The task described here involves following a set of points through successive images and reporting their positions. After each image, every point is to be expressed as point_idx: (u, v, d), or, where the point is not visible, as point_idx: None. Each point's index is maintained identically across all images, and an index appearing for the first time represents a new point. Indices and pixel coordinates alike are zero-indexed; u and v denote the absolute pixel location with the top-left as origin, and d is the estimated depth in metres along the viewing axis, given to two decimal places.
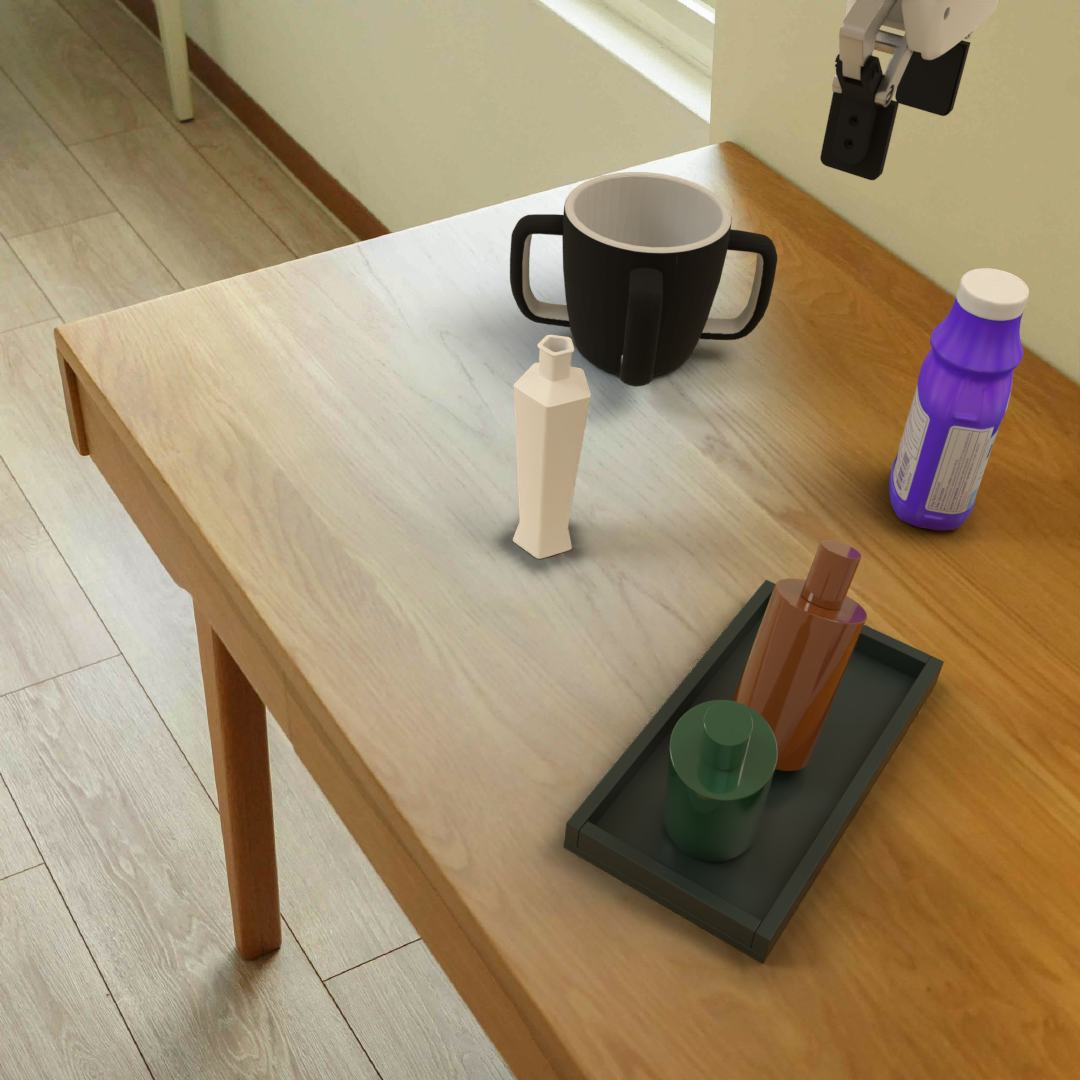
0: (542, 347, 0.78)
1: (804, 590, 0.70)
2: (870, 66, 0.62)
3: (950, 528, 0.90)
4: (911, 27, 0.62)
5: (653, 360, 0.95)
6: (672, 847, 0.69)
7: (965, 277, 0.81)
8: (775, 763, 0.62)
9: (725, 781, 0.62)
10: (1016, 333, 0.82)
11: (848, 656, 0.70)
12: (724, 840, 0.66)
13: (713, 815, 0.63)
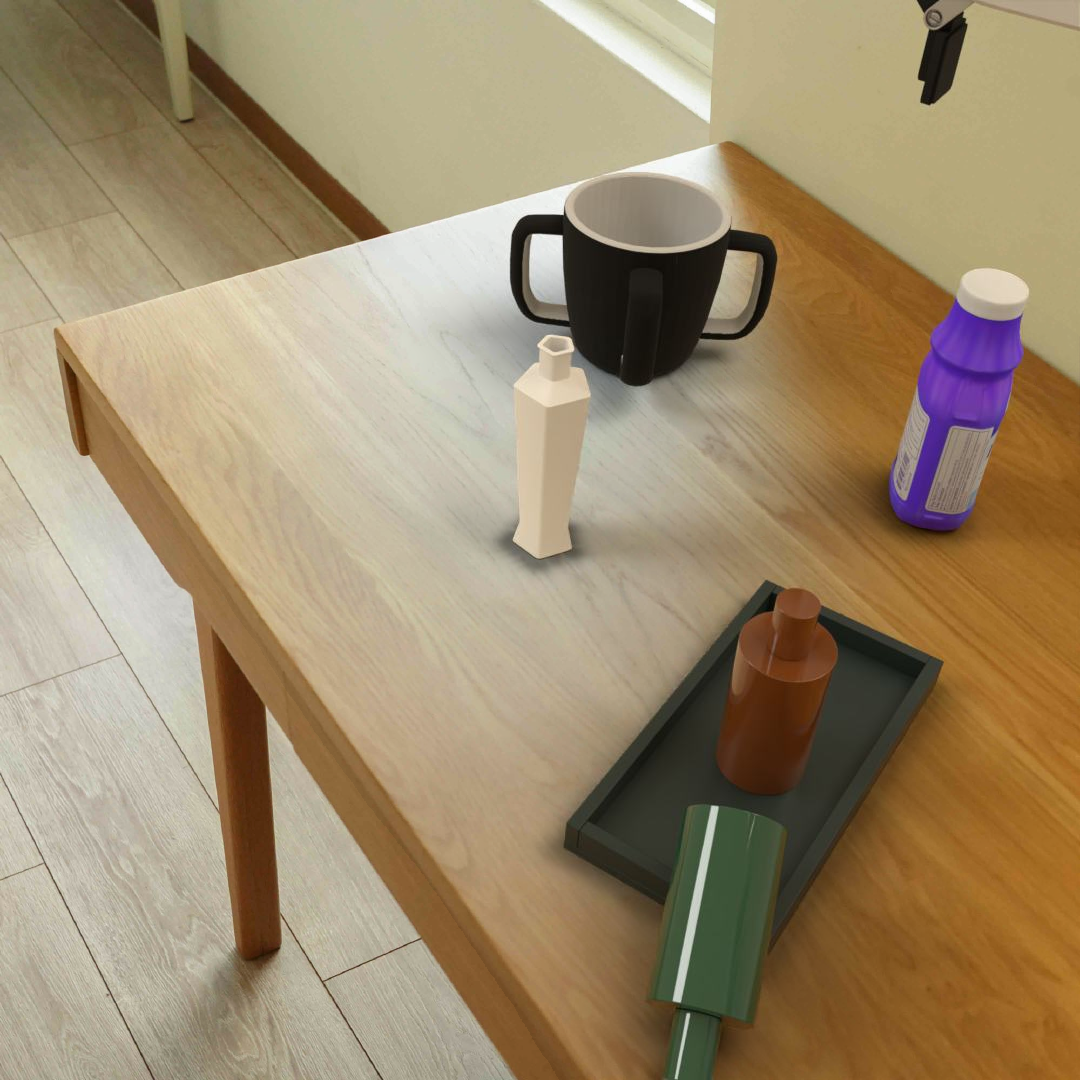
0: (542, 347, 0.78)
1: (768, 641, 0.68)
2: None
3: (950, 528, 0.90)
4: None
5: (653, 360, 0.95)
6: (672, 847, 0.69)
7: (965, 277, 0.81)
8: None
9: None
10: (1016, 333, 0.82)
11: (821, 698, 0.68)
12: None
13: None
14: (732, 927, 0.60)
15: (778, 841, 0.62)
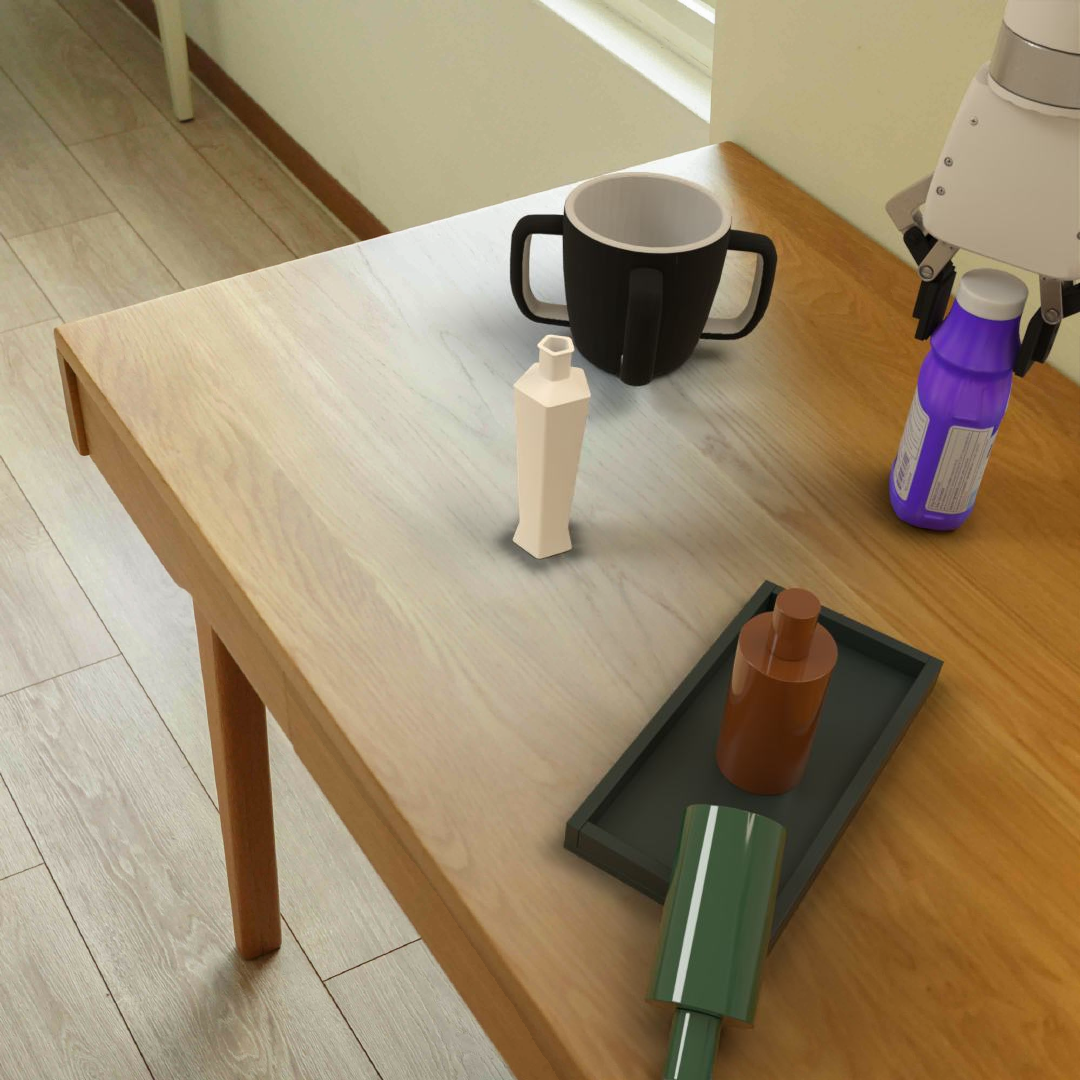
0: (542, 347, 0.78)
1: (768, 641, 0.68)
2: None
3: (950, 528, 0.90)
4: None
5: (653, 360, 0.95)
6: (672, 847, 0.69)
7: (965, 277, 0.81)
8: None
9: None
10: (1016, 333, 0.82)
11: (821, 698, 0.68)
12: None
13: None
14: (731, 926, 0.60)
15: (777, 840, 0.62)
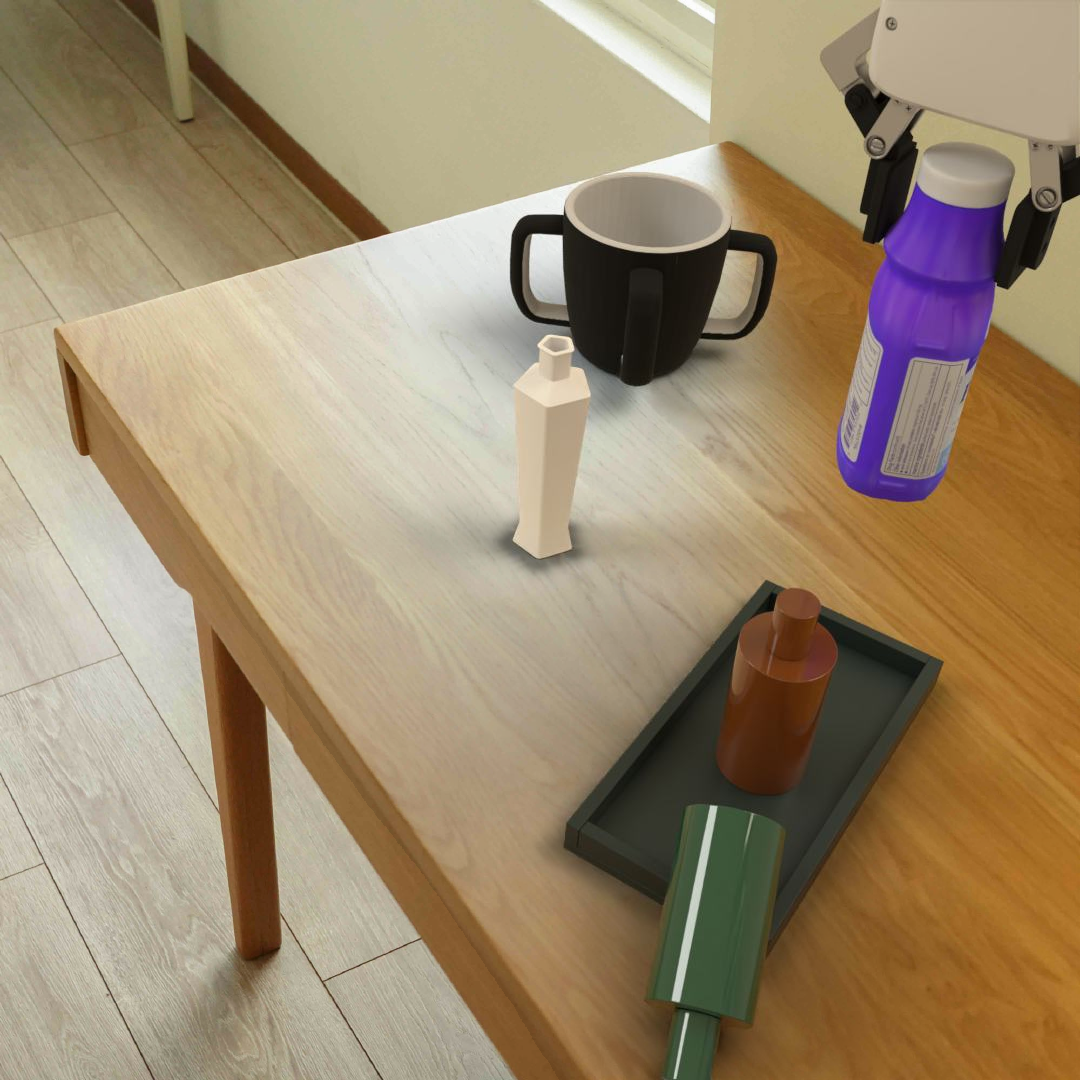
0: (542, 347, 0.78)
1: (768, 641, 0.68)
2: None
3: (915, 499, 0.68)
4: None
5: (653, 360, 0.95)
6: (672, 847, 0.69)
7: (928, 152, 0.60)
8: (745, 1028, 0.61)
9: None
10: (998, 228, 0.60)
11: (821, 698, 0.68)
12: None
13: None
14: (729, 926, 0.60)
15: (776, 840, 0.62)
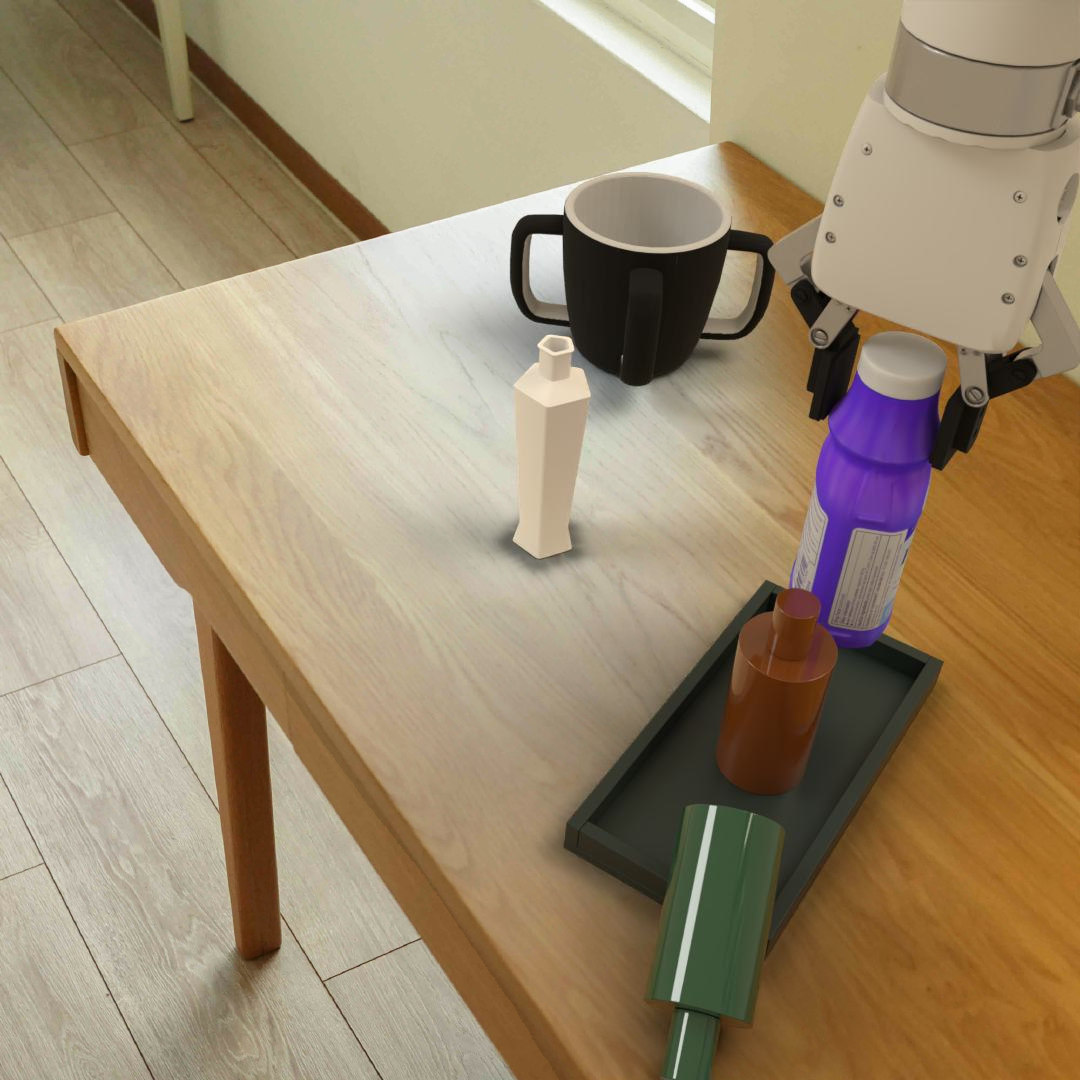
0: (542, 347, 0.78)
1: (768, 641, 0.68)
2: None
3: (861, 646, 0.73)
4: None
5: (653, 360, 0.95)
6: (672, 847, 0.69)
7: (868, 343, 0.64)
8: (745, 1028, 0.61)
9: None
10: (933, 414, 0.65)
11: (821, 698, 0.68)
12: None
13: None
14: (728, 925, 0.60)
15: (775, 840, 0.62)
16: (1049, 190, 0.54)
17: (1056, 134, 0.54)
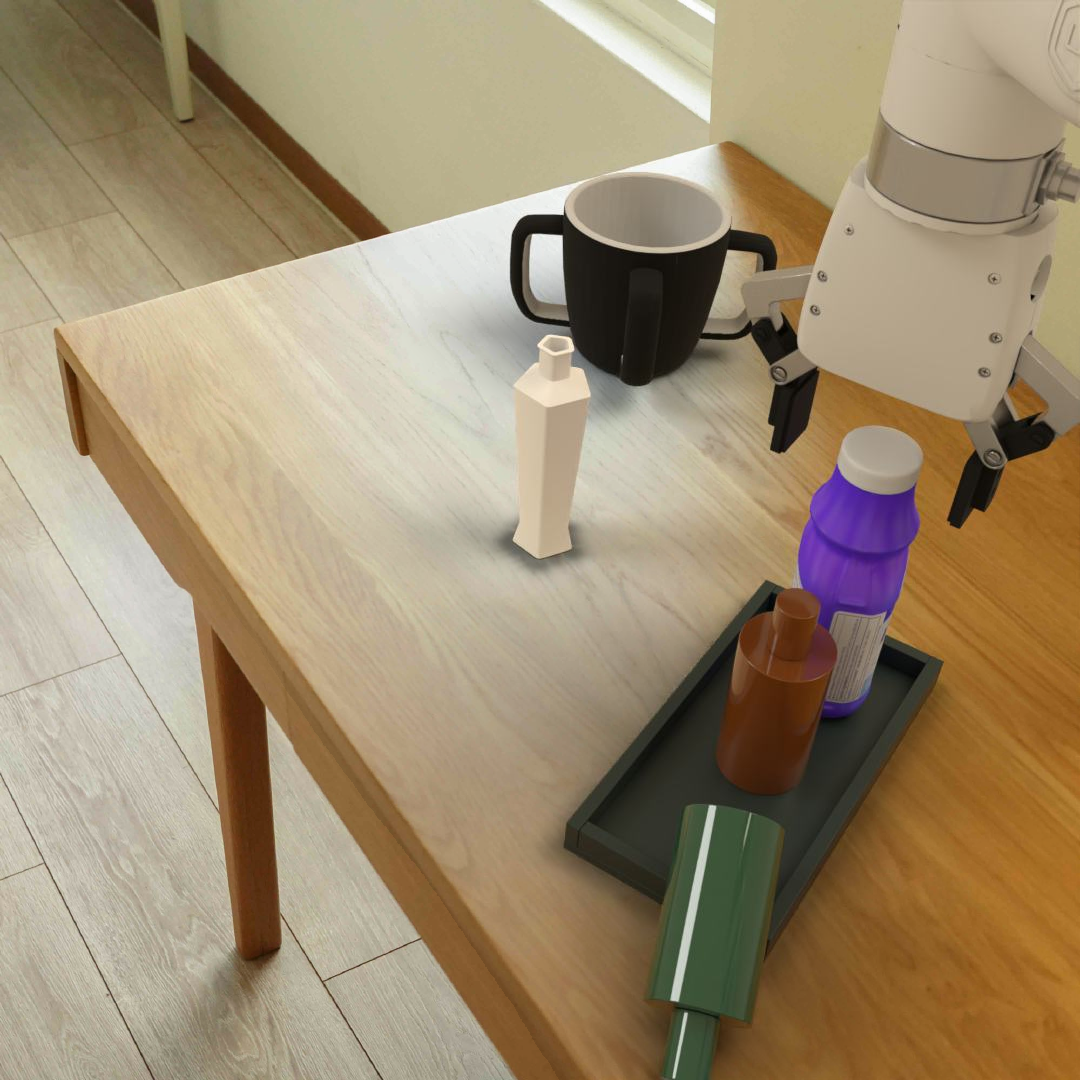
0: (542, 347, 0.78)
1: (768, 641, 0.68)
2: None
3: (842, 716, 0.76)
4: None
5: (653, 360, 0.95)
6: (672, 847, 0.69)
7: (847, 439, 0.67)
8: (744, 1028, 0.61)
9: None
10: (909, 505, 0.68)
11: (821, 698, 0.68)
12: None
13: None
14: (727, 925, 0.60)
15: (775, 839, 0.62)
16: (1023, 272, 0.57)
17: (1029, 219, 0.56)
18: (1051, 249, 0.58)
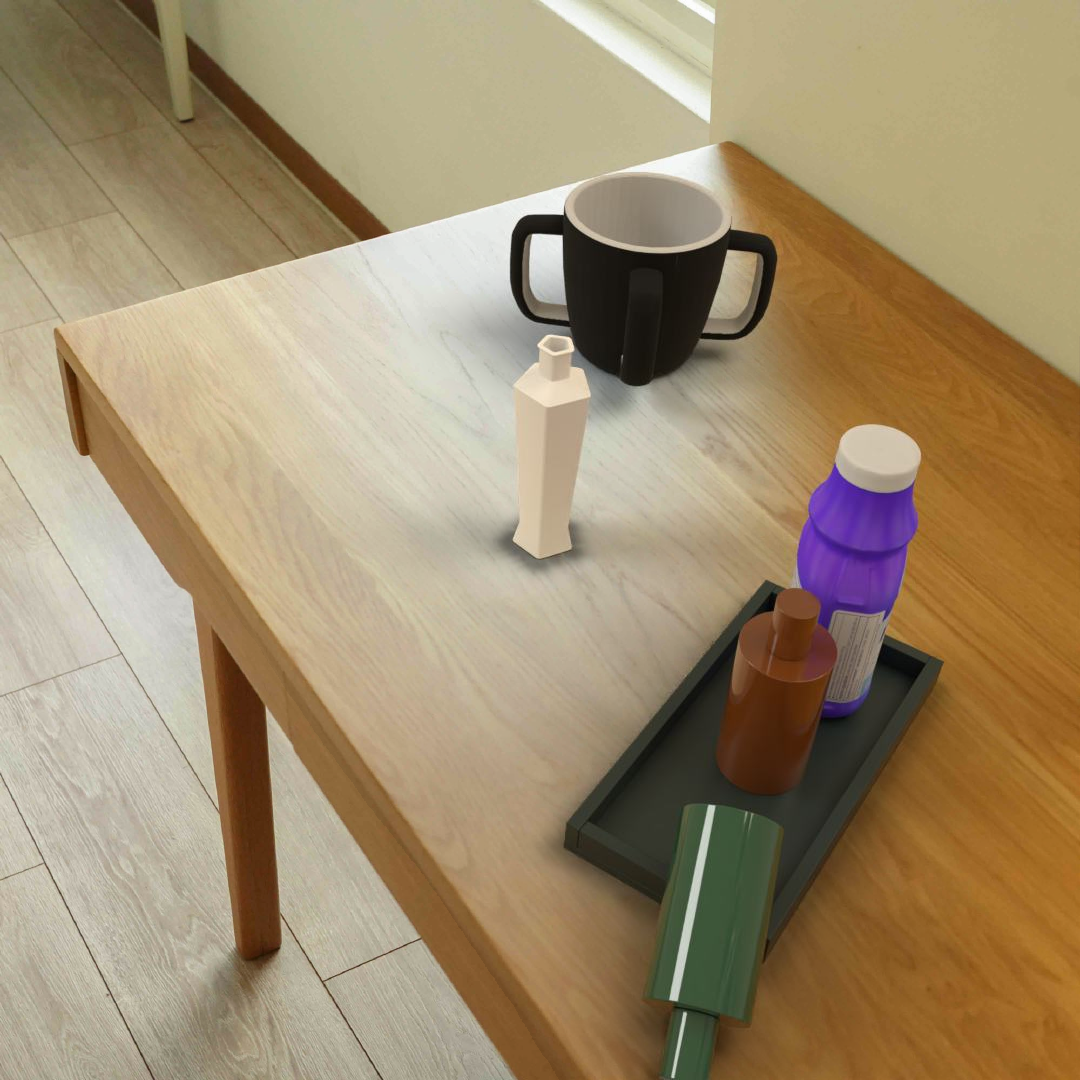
0: (542, 347, 0.78)
1: (768, 641, 0.68)
2: None
3: (842, 716, 0.76)
4: None
5: (653, 360, 0.95)
6: (672, 847, 0.69)
7: (845, 438, 0.68)
8: None
9: None
10: (907, 504, 0.68)
11: (821, 698, 0.68)
12: None
13: None
14: (725, 924, 0.60)
15: (773, 839, 0.62)
16: None
17: None
18: None
